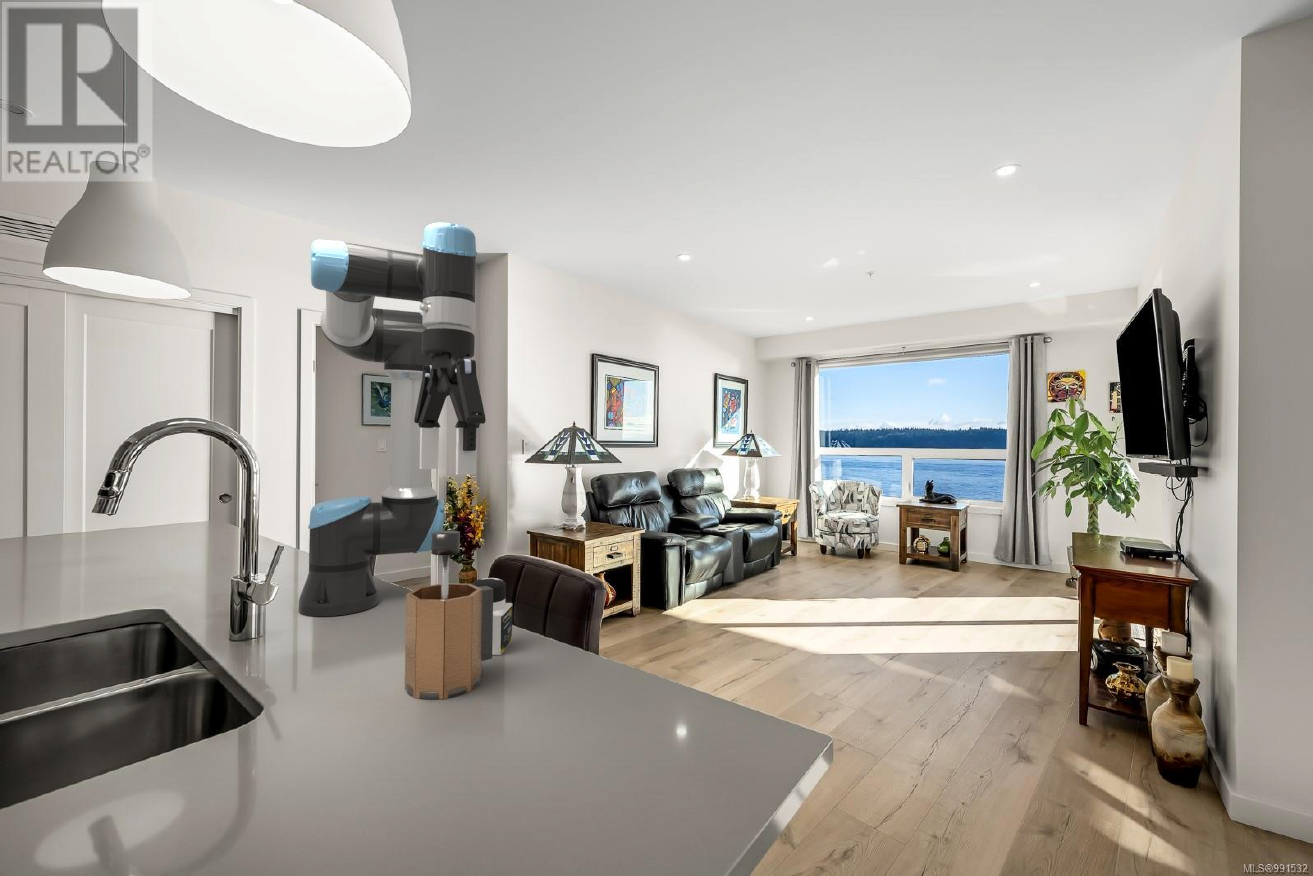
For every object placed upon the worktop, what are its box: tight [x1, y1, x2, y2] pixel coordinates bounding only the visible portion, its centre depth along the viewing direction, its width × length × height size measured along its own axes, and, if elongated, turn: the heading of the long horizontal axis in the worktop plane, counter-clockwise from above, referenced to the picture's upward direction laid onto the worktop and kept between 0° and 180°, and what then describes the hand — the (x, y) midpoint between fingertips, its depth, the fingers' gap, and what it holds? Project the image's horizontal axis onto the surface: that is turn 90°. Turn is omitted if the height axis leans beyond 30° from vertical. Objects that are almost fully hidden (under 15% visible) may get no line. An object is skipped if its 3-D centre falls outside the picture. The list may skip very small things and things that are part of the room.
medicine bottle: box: [471, 577, 514, 656], centre depth 105 cm, size 7×7×12 cm
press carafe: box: [404, 582, 493, 701], centre depth 90 cm, size 10×12×14 cm
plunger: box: [430, 530, 461, 600], centre depth 89 cm, size 8×8×22 cm
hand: (446, 471), depth 89 cm, fingers open, 13 cm apart
